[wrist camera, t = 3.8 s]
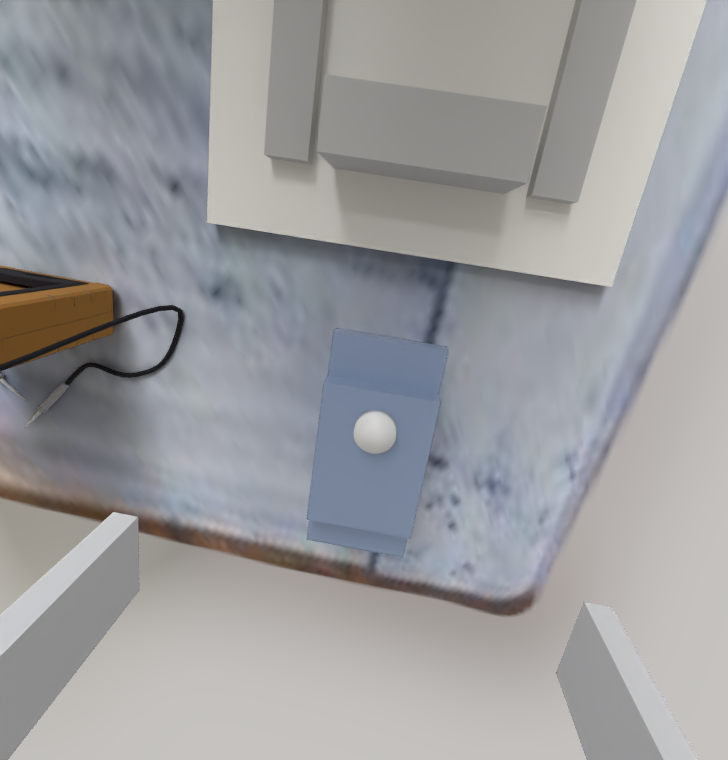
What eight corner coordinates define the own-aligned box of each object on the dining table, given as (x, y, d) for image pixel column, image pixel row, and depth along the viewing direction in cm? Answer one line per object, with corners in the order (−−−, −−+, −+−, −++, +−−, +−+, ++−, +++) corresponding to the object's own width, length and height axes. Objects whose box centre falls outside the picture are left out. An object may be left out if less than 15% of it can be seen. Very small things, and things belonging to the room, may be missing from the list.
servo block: (324, 486, 27) (299, 561, 20) (348, 312, 23) (327, 339, 17) (403, 500, 26) (402, 581, 20) (439, 327, 23) (452, 361, 17)
